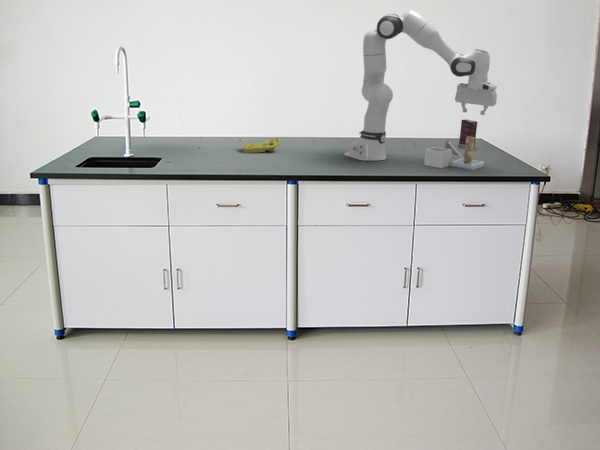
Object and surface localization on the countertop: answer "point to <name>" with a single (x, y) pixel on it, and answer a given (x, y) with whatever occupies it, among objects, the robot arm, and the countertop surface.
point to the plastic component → (261, 146)
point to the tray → (473, 166)
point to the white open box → (438, 157)
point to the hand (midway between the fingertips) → (473, 113)
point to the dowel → (469, 150)
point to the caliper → (451, 147)
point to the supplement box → (467, 131)
